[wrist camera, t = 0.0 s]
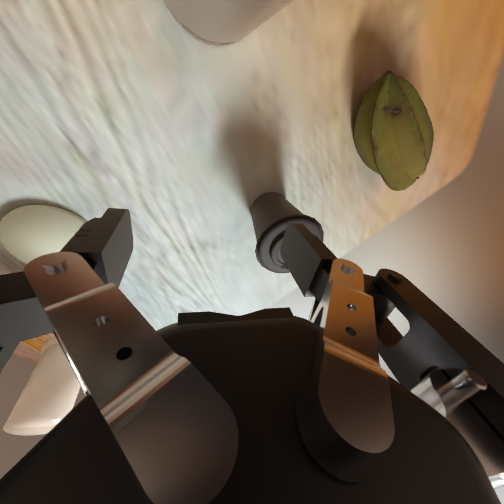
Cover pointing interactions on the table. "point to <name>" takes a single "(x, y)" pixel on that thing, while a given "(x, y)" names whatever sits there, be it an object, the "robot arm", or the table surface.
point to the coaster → (37, 230)
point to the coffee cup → (276, 228)
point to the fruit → (394, 131)
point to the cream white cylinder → (45, 394)
